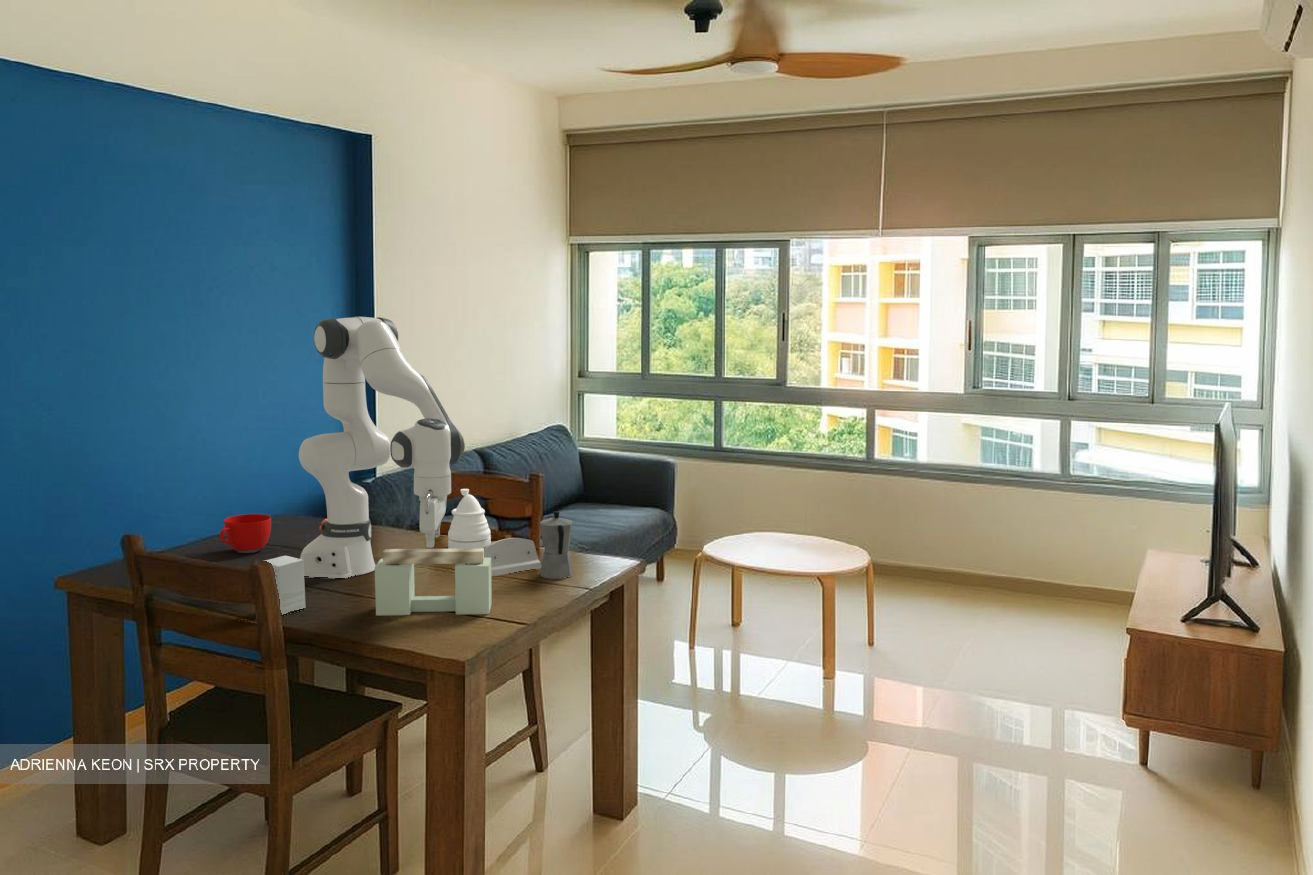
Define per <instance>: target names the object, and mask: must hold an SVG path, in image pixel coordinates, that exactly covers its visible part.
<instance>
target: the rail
mask: <svg viewBox="0 0 1313 875" xmlns="http://www.w3.org/2000/svg"><path fill="white" fill-rule="evenodd" d="M382 559H383V564H390V565H399V564H414V565H445V564H446V565H451V564H452V565H453V564H454V565H456V564H470V565H477V563H483V562H484V548H469V549H448V548H386V549H384V550H383V551H382Z"/></svg>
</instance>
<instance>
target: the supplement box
mask: <svg viewBox="0 0 1313 875" xmlns="http://www.w3.org/2000/svg"><path fill="white" fill-rule="evenodd" d="M264 561H267V562H269V563H271V564H272V566H273V568H274V572H275V579H276V584H277V589H278V593H279V599H280V610H281V613H282V615H283V614H286V613H288V612H290V611H294V610H299V609H303V608H306V589H305V587H306V586H305V577H304V562H303V560H302V559H300V558H297V557H293V556H289V555H280V556H278V557H274V558H270V559H266V560H264ZM306 609H307V608H306Z"/></svg>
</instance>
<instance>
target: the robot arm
mask: <svg viewBox="0 0 1313 875" xmlns="http://www.w3.org/2000/svg"><path fill="white" fill-rule="evenodd" d="M313 333H314V334H313V341H314V343H313V344H314V346H315V347H314V348H315V349H316V351H317V353H318V354H319V355H320V356H321V357H323V358H324V359H323V367H322V368H323V369H322V392H323V393H322V394H323V408H324V411H325V412H326V413H327V415H329V416H330V417H332V418H334V419H335V420H339V421H340V422H341V423H342V424H341V425H342V427H343V431H340V432H333V433H332V432H330V433H321V434H317V435H314V436H311V437H307V438H306V439H304V440H303V441H302V443H301V444H300V447H299V451H298V459H299V462H300V465H301V467H302V468H303V469H304V470H305V471H306V472H307V473H308V474H310V475H312V476H313V477H314V478H315V479H316V480H317V481H318V482H319V484H320V486H321V487H322V489H323V494H324V495H325V504H326V515H327V517H326V518H324V519H323V520H322V521H321V523H320V526H319V531H320V535H318V536H317V537H316V538H315V539H313V540H311V542H309V543H308V544H307V545H306V546H305V547H304V548H303V549H302V551H301V553H300V556H299V559H302V560H303V562H304V576H309V577H308V578H314V577H328V578H327V579H335V578H345V579H348V577H349V578H351V576H352V577H355V575H356V576H361V575H365V574H368V573H371V572H375V566H376V565H377V564H376V563H375V559H374V556H373V550H372V545H371V544H372V543H371V539H372V523H371V519H370V518H369V516H370V515H369V495H368V492H367V491H366V489H365V488H364V487H362V486H361V485H359V484H356V483H354V482H352V481H351V479H350V475H349V473H350V472H354V471H362V470H370V469H371V470H372V469H374V468H377V467H380V466H382V465H383V466H384V465H385V464H387V462H388V461H389V460H390V458H391V460H393V463H395V464H396V465H397V466H398V467H400V468H403V469H414V470H413V471H414V472H413V494H414V495H415V496H418V497H419V498H418V500H419V502H420V503H419V532H420V533H423V534H424V537H425V545H426V546H425V547H426V549H434V547H435V539H436V538H439V537H440V536H441V530H440V529H441V524H442V523H441V522H442V520H443V518H444V516H445V514H446V509H447V502H448V495H450V494H451V493H452V472H451V471H452V470H451V468H450V466H453V465H456V464H457V463H458V462H459V460H460V459H461V458H462V456H463V455H464V452H465V450H466V449H465V448H466V444H465V440H464V436H463V435H462V434H461V432H460V431H459V429H458V428H457V427H456V425H455V424H454V423H453V421H452V419H451V418H450V416H449V415H448V414H447V412H446V410H445V408H444V407H443V404H442V403H441V402H440V399H439V398H438V396H437V394H436V393H435V391H434V388H433V387H432V385H431V384H430V382H429V381H428V379H427V378H426V377H425V376H424V375H422V373H419V372H418V371H417V370H415V368H414V367H413V366H412V365H411V364H410V363H409V361H408V359H406V357H405V355H404V352H403V349H402V347H401V345H400V342H399V331H398V328H397V326H396V324H395V323H394V322H393V321H392V320H390V319H389V318H384V317H367V316H354V317H342V318H333V317H332V318H328V319H323V320H321V321H319V322H318V324H317V325H316V327H315V329H314V332H313ZM366 383H368V384H369V386H370V388H372V389H373V390H375V391H376V392H378V393H381V394H382V395H385V396H386V395H387V396H391V397H395V398H399V399H402V400H405V401H408V402H410V403H411V404H413V405H415V406H416V407H417V408H418V410H419V411H420V413H421V415H422V416H423V418H422V419H419V420H417V421H416V422H415V424H414V425H413V426H412V427H408V428H406V429H403V430H400V431H397V432H396V433H395V434H394V436H393V437H392V439H391V441H390V439H389V437H388V435H387V434H385V433H384V432H383V431H382V430H380V429H379V428H378V427H377V426H376V425H375V423H374V421H373V420H372V419H371V417H370V414H369V411H368V405H367V395H366Z"/></svg>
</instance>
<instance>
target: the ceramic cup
mask: <svg viewBox="0 0 1313 875" xmlns="http://www.w3.org/2000/svg"><path fill="white" fill-rule="evenodd" d="M223 524H224V528H222V529H221V530H220V532H219V539H220V540H221V542H222V543H223V544H225V545H228V546H231V548H232V550H235V551H236V550H239V551H248V550H256V549H261V548H265V546H266V545H267V543H268V541H269V539H270V536H271V531H272V517H271V516H270V515H268V514H261V513H248V514H237V515H233V516H228V517H227V518H225V519H223ZM225 536H226V538H225Z"/></svg>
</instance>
